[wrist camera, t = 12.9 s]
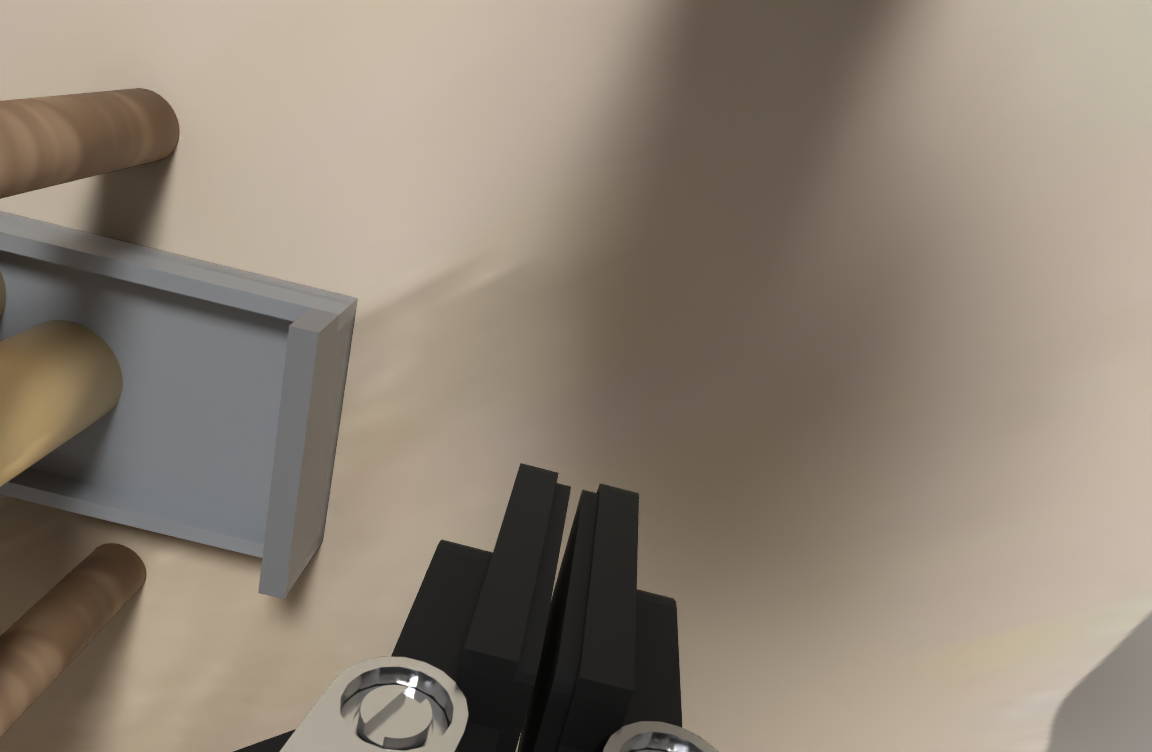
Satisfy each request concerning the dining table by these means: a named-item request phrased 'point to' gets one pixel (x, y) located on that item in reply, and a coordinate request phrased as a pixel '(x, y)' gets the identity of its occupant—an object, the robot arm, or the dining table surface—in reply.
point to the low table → (25, 163)
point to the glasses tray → (170, 393)
